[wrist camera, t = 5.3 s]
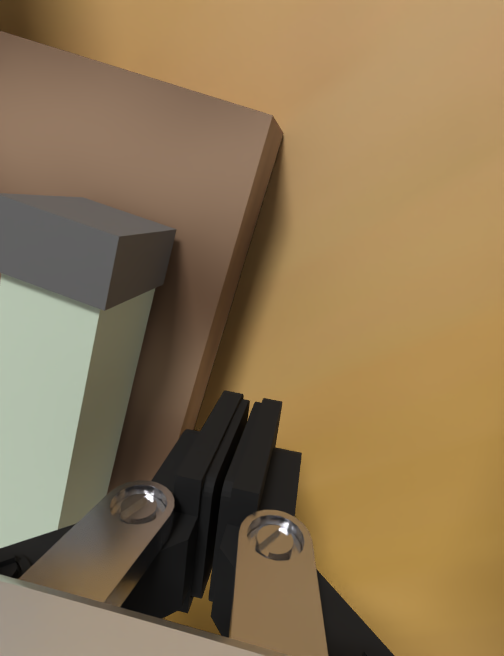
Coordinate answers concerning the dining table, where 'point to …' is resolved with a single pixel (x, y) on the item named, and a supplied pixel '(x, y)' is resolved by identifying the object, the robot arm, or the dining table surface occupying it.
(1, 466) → the stool leg
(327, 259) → the dining table surface
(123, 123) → the stool seat
